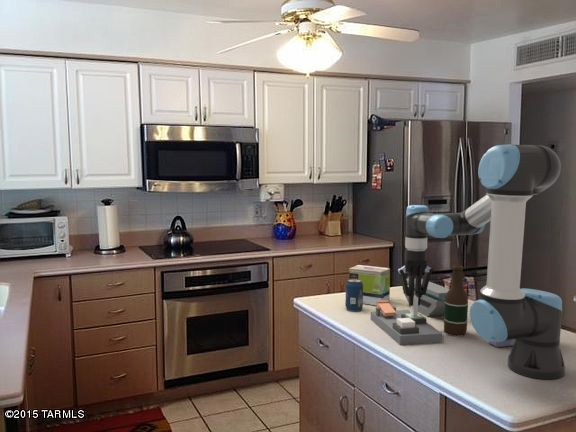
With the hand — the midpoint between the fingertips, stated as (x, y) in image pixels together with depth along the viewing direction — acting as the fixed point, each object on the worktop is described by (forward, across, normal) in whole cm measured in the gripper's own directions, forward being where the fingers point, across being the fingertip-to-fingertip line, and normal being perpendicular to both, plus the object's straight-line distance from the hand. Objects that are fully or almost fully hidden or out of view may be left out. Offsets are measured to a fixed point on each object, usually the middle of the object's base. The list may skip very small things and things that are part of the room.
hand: (413, 314), depth 190 cm
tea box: (+6, +3, -38) cm, 39 cm away
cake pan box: (+6, -28, +19) cm, 34 cm away
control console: (+6, +4, 0) cm, 7 cm away
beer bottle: (+6, -13, +6) cm, 15 cm away
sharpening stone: (+6, -15, -20) cm, 26 cm away
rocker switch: (0, +7, -9) cm, 11 cm away
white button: (+1, +7, +9) cm, 11 cm away
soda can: (+6, +13, -28) cm, 31 cm away
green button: (+2, 0, 0) cm, 2 cm away
